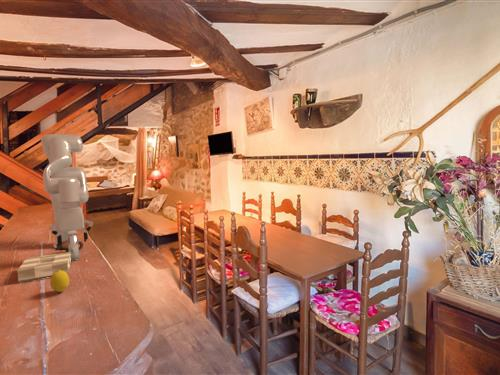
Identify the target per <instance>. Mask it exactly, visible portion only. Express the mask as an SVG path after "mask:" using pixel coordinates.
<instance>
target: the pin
mask: <svg viewBox="0 0 500 375" xmlns="http://www.w3.org/2000/svg"><path fill="white" fill-rule="evenodd" d="M67 237H68V248H69V252H71V260H76V259H79V258H81V257H80V250H79V247H80V244H79V245H78V240H79V236H78V232H77V233H71V234H68V235H67ZM79 260H80V259H79Z"/></svg>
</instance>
